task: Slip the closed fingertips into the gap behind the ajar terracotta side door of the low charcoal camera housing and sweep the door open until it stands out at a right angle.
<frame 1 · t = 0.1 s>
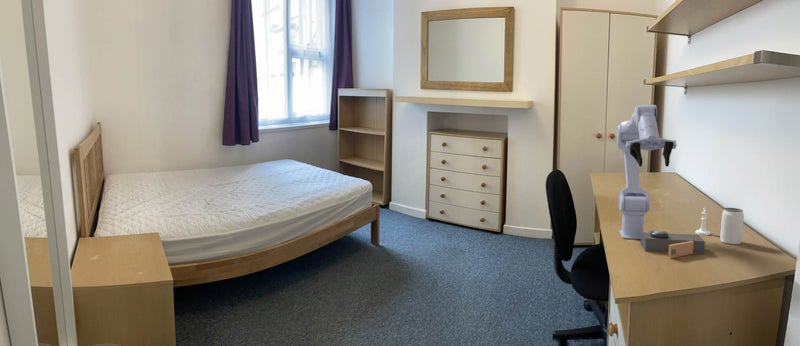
hand: (654, 164, 156), 32 cm above the table, tool tilted 50°, fingers open, 7 cm apart
chess piece: (702, 233, 189), on the table
can: (730, 242, 178), on the table
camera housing: (671, 249, 172), on the table
side door: (681, 249, 165), point 2 cm above the table, hinge at 35.0°
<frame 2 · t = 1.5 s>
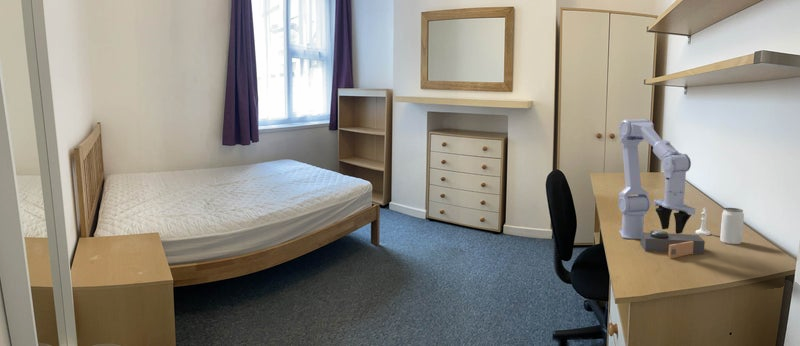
hand: (671, 231, 165), 8 cm above the table, tool pointing down, fingers open, 5 cm apart
nothing on the table moved.
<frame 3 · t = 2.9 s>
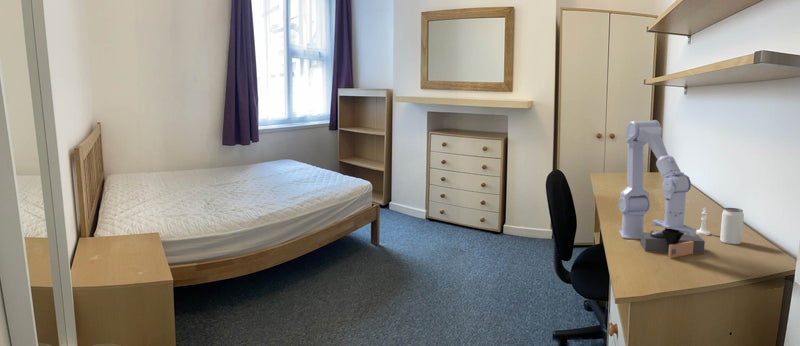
hand: (672, 251, 166), 2 cm above the table, tool pointing down, fingers closed, pressing on side door
side door: (681, 249, 165), point 2 cm above the table, hinge at 35.0°, touching gripper
everything else where it was.
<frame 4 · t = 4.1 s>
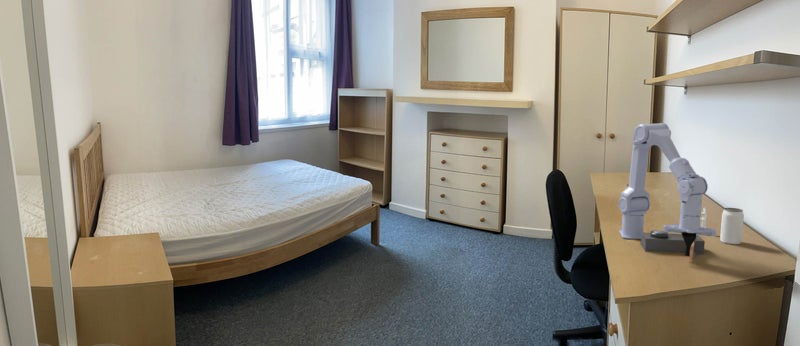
hand: (687, 254, 162), 2 cm above the table, tool pointing down, fingers closed, pressing on side door
side door: (692, 251, 162), point 2 cm above the table, hinge at 72.7°, touching gripper
everything else where it was.
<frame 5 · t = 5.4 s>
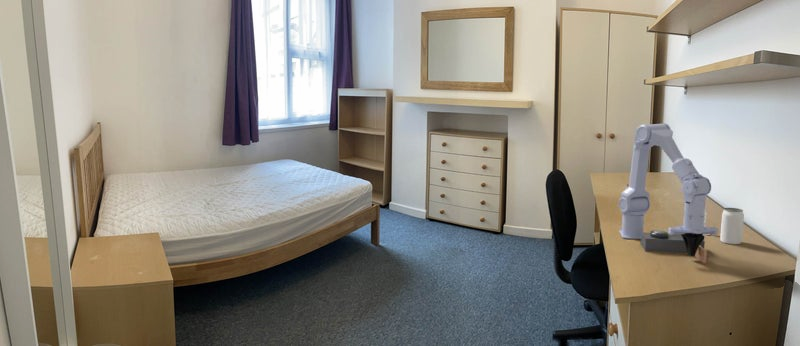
hand: (691, 255, 161), 2 cm above the table, tool pointing down, fingers closed
side door: (699, 251, 162), point 2 cm above the table, hinge at 95.2°
everything else where it was.
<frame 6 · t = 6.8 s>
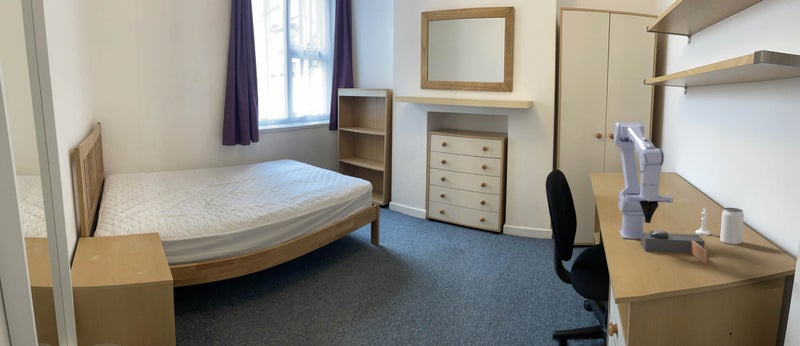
hand: (647, 222, 173), 9 cm above the table, tool pointing down, fingers closed
nothing on the table moved.
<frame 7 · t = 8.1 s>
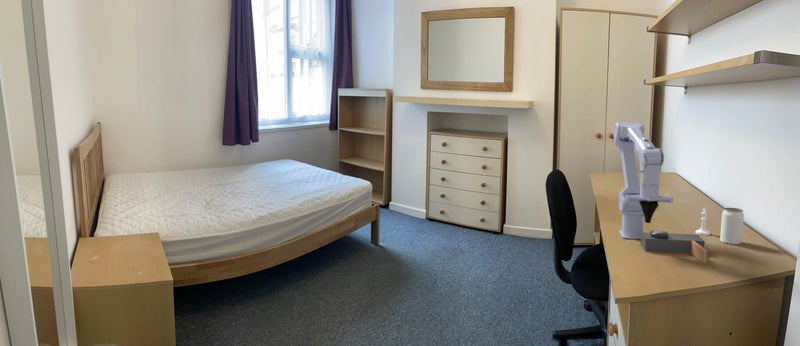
hand: (647, 222, 173), 9 cm above the table, tool pointing down, fingers closed
nothing on the table moved.
at the end: side door at +95° (first picture: +35°) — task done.
